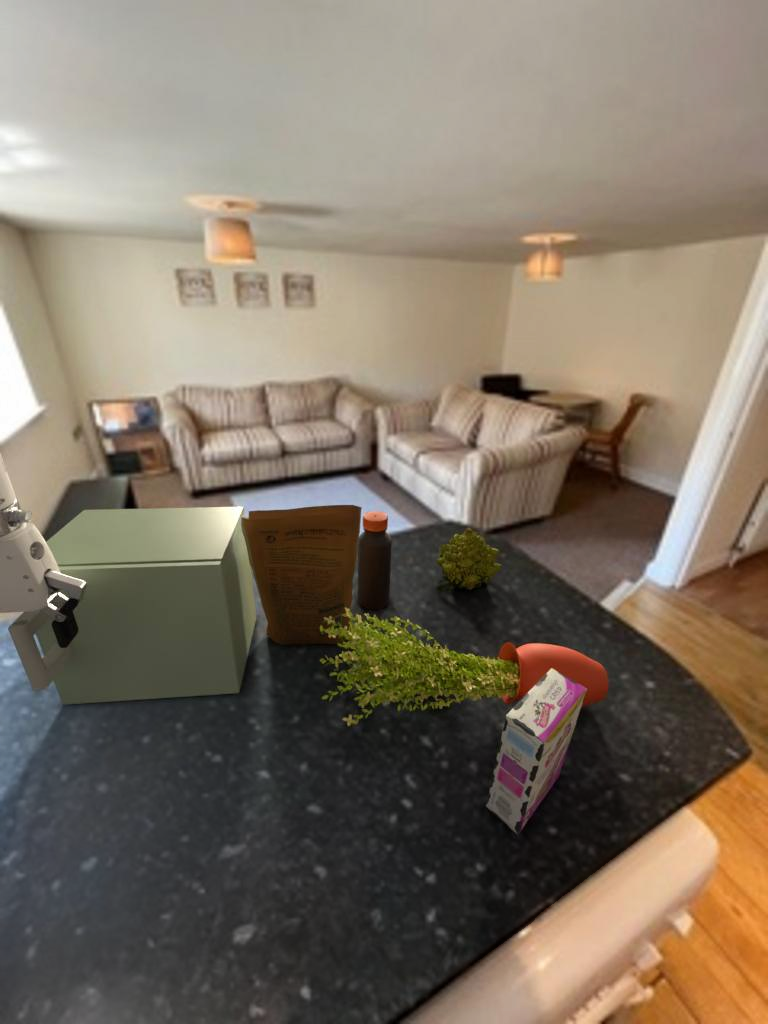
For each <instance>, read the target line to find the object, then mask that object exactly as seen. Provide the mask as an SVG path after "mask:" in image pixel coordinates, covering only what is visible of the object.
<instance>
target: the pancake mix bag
mask: <svg viewBox="0 0 768 1024" xmlns="http://www.w3.org/2000/svg"><path fill="white" fill-rule="evenodd" d="M362 509H363V508H362V506H358V505H355V504H332V505H331V504H329V505H328V504H327V505H315V506H313V505H312V506H304V507H298V508H297V507H296V508H287V509H268V510H249V511H248V516H245V517H241V527H242V533H243V535H244V538H245V542H246V547H247V552H248V557H249V562H250V566H251V571H252V575H253V579H254V582H255V585H256V589H257V592H258V595H259V601H260V603H261V608H262V610H263V612H264V616H265V618H266V621H267V622H266V623H267V626H266V636H267V637H268V638H270V639H271V640H272V641H273V642H274V643H276V644H279V645H283V646H288V645H289V646H293V645H338V644H337V643H339V644H342V642H343V641H344V642H346V641H347V639H345V638H346V637H345V636H344V635H343V637H340V638H338V636H339V635H337V636H336V638H333V637H332V636H331V638H329V637H328V635H329V634H328V633H325V632H324V631H322V632H321V631H320V626H321V625H322V627H323V629H325V630H326V629H328V628H330V627H332V626H334V625H333V624H332V623H331V622H330V623H331V624H329V625H327V624H328V623H327V622H328V621H326V622H323V621H324V620H325V619H324V617H326V618H328V619H329V616H332V619H331V620H333V618H334V621H335V623H337V626H334V629H336V628H340V627H339V624H338V622H339V623H340V624H341V626H342V628H343V629H344V627H345V626H347V630H349V626H350V624H349V621H350V619H351V618H349V617H347V616H346V617H344V616H342V615H343V614H346V610H345V607H346V608H347V609H348V608H349V611H350V612H351V607H352V601H353V589H354V588H353V587H354V576H355V571H356V568H357V561H358V538H359V536H360V535H361V534H360V533H361V523H362V522H361V520H362ZM350 622H351V623H352V620H351V621H350ZM330 630H331V628H330ZM330 630H329V632H330ZM338 630H339V629H338ZM350 631H351V629H350ZM321 633H324V634H321ZM340 633H341V632H340ZM333 635H334V634H333ZM349 636H350V635H349ZM341 638H342V639H341Z"/></svg>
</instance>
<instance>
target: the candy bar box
mask: <svg viewBox="0 0 768 1024" xmlns="http://www.w3.org/2000/svg"><path fill="white" fill-rule="evenodd" d="M586 691H587V689H586V688H585V687H583V686H581V685H580V684H578V683H576V682H575V681H573V680H571V679H569V678H567V677H566V676H564V675H562V674H561V673H559V672H557V671H556V670H554V669H552V668H551V669H550V670H549V671H548V672H547V673H546V674H545V675H544V676H543V677H542V678H541V679H540V681H539V682H538V683H537V684H536V685H535V686H534V687H533V688H532V689H531V690H530V691H529V692H528V693H527V694H526V695H525V696H524V697H523V698H522V699H521V700H520V701H518V702H517V703H516V704H515V705H514V707H512V708H511V710H510V711H509V712H508V713H506V715H505V721H504V724H503V729H502V732H501V737H500V742H499V746H498V751H497V755H496V761H495V764H494V769H493V774H492V777H491V783H490V786H489V791H488V795H487V800H486V804H485V807H486V809H488V811H490V812H491V813H492V814H493V815H494V816H496V817H497V818H498V819H499V820H500V821H501V822H502V823H503V824H504V825H505V826H507V827H508V829H510V830H511V831H512V832H513V833H515V834H516V835H518V836H519V834H520V833H521V832H522V830H523V829H524V827H525V826H526V825H527V823H528V822H529V820H530V819H531V817H532V816H533V814H534V813H535V811H536V810H537V809H538V807H539V805H540V804H541V803H542V801H543V800H544V798H545V797H546V796H547V794H548V793H549V791H550V790H551V789H552V787H553V786H554V785H555V783H556V781H557V780H558V778H559V777H560V776H561V772H562V770H563V765H564V762H565V760H566V757H567V753H568V750H569V746H570V743H571V741H572V738H573V734H574V730H575V728H576V725H577V722H578V720H579V716H580V713H581V710H582V708H581V706H582V703H583V700H584V697H585V694H586Z"/></svg>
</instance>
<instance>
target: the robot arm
mask: <svg viewBox="0 0 768 1024" xmlns="http://www.w3.org/2000/svg"><path fill="white" fill-rule="evenodd" d="M32 520H33V512H32V511H30V510H23V509H22V508H21V505H20V503H19V501H18V499H17V497H16V493H15V490H14V488H13V485H12V482H11V479H10V477H9V473H8V471H7V468H6V465H5V462H4V460H3V457H2V454H1V453H0V614H7V613H8V614H9V613H23V612H28V611H37V610H40V611H42V612H43V613H45V614H46V615H48V616H50V617H51V618H53V619H54V621H53V622H52V624H51V625H52V628H53V631H54V634H55V636H56V639H57V642H58V644H59V647H61V648H67V647H68V645H69V644H70V643H71V641H72V640H73V639H74V637H75V636H76V635H77V634H78V630H79V629H78V625H77V622H76V619H75V616H74V613H73V610H74V609H75V608H76V607H77V606H78V604H79V603H80V602H81V601H82V600H83V595H84V593H85V590H86V587H87V583H86V582H85V581H82V580H79V579H76V578H73V577H69V576H66V575H63V574H61V573H60V570H59V568H58V565H57V563H56V561H55V559H54V557H53V554H52V552H51V550H50V549H49V547H48V545H47V543H46V542H47V540H45V538H44V536H43V535H42V533H41V532H40V530H39V529H38V528H37V526H36V525H35V524H34V523H32ZM61 590H65V591H67V592H68V593H69V598H68V597H66V596H65V595H63V594H62V593H60V592H59V591H61ZM51 601H53V602H55V603H56V604H58V605H60V606H61V607H62V608H61V609H58V608H57V607H55V606H54V605H52V604H51V603H50V602H51Z"/></svg>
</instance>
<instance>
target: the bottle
mask: <svg viewBox="0 0 768 1024" xmlns="http://www.w3.org/2000/svg"><path fill="white" fill-rule="evenodd" d="M388 527H389V516H388V515H387V513H385V512H382V511H379V510H372V511H367V512H365V513H364V514H363V515H362V529H363V532H361V534H359V538H358V549H357V603H358V604H359V605H360V606H361V607H362V608H365V609H368V610H380V609H382V608H385V607H386V606H387V605H388V604H389V602H390V595H391V571H392V570H391V569H392V547H393V546H392V545H393V541H392V537H391V535H390V534H389V533H388V532H387V530H388Z"/></svg>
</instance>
